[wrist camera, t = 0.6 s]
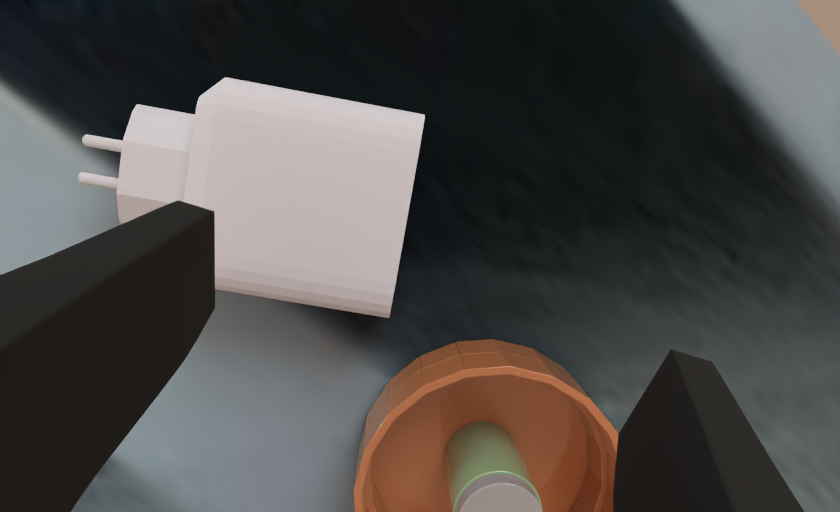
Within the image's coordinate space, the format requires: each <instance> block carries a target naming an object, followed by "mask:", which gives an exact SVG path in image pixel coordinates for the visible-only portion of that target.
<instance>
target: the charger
mask: <svg viewBox="0 0 840 512" xmlns="http://www.w3.org/2000/svg"><path fill="white" fill-rule="evenodd" d="M424 119H425V115H424V114H419V113H413V112H408V111H403V110H397V109H392V108H387V107H381V106H376V105H371V104H365V103H360V102H355V101H349V100H344V99H339V98H333V97H328V96H323V95H317V94H312V93H307V92H301V91H296V90H291V89H285V88H280V87H275V86H269V85H264V84H259V83H253V82H248V81H243V80H237V79H232V78H227V77H225V78H224V79H222V80H221V81H220V82H218V83H217V84H216V85H214V86H213V87H212V88H210V89H209V90H208V91H206V92H205V93H204V94H202V95H201V96H200V97H199V99H198V102H197V106H196V112H195V115H194V114H188V113H183V112H177V111H172V110H166V109H161V108H155V107H150V106H145V105H139V104H137V105H136V107H135V108H134V110H133V111H132V114H131V117H130V120H129V123H128V126H127V129H126V132H125V135H124V138H123V141H121V140H116V139H110V138H104V137H99V136H93V135H88V134H86V135H84V136H83V138H82V142H83V144H84V145H85V146H89V147H94V148H100V149H105V150H111V151H117V152H121V160H120V169H119V177H118V178H114V177H108V176H103V175H97V174H91V173H86V172H81V173H80V174H79V176H78V180H79V182H80V183H82V184H88V185H93V186H99V187H105V188H111V189H116V190H117V204H118V214H119V222H120V224H124V223H126V222H128V221H130V220H132V219H135V218H137V217H139V216H141V215H144V214H146V213H148V212H151V211H153V210H155V209H158V208H160V207H162V206H165V205H167V204H170V203H172V202H175V201H178V200H179V201H182V202H186V203H189V204H192V205H195V206H199V207H202V208H205V209H209V210H212V211H214V217H215V289H217V290H223V291H229V292H235V293H241V294H247V295H253V296H259V297H265V298H271V299H277V300H283V301H289V302H295V303H301V304H307V305H313V306H319V307H325V308H331V309H337V310H343V311H349V312H355V313H361V314H367V315H373V316H379V317H385V318H389V316H390V311H391V306H392V301H393V295H394V290H395V284H396V279H397V273H398V267H399V262H400V256H401V250H402V245H403V239H404V234H405V228H406V222H407V217H408V211H409V206H410V200H411V194H412V189H413V183H414V177H415V172H416V166H417V161H418V155H419V149H420V144H421V138H422V132H423V126H424Z"/></svg>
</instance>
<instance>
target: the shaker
mask: <svg viewBox="0 0 840 512" xmlns="http://www.w3.org/2000/svg"><path fill="white" fill-rule="evenodd" d="M444 467H445V473H446V479H447V485H448V491H449V497H450V503H451V509H452V512H543V510H542V504H541V499H540V497H539V494H538V492H537V489H536V487H535V485H534V483H533V480H532V478H531V476H530V474H529V471H528V469H527V467H526V464H525V462H524V460H523V458H522V455H521V453H520V451H519V448H518V446H517V444H516V442H515V440H514V438H513V437H512V435H511V434H510V433H509V432H508V431H507V430H505V429H504V428H503V427H501V426H499V425H497V424H494V423H489V422H475V423H471V424H468V425H466V426H464V427H462V428H460V429H459V430H458V431H456V432H455V433H454V434H453V435H452V437H451V438H450V439H449V441H448V443H447V445H446V448H445V451H444Z"/></svg>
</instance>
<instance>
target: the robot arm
mask: <svg viewBox="0 0 840 512" xmlns="http://www.w3.org/2000/svg"><path fill="white" fill-rule="evenodd" d="M214 308H215V217H214V211H212V210H209V209H205V208H202V207H199V206H195V205H192V204H189V203H186V202H182V201H179V200H178V201H175V202H172V203H170V204H167V205H165V206H162V207H160V208H158V209H155V210H153V211H151V212H148V213H146V214H144V215H141V216H139V217H137V218H135V219H132V220H130V221H128V222H126V223H124V224H121V225H119V226H117V227H115V228H112V229H110V230H108V231H106V232H103V233H101V234H99V235H97V236H94V237H92V238H90V239H87V240H85V241H83V242H80V243H78V244H76V245H73V246H71V247H69V248H67V249H64V250H62V251H60V252H57V253H55V254H53V255H50V256H48V257H46V258H43V259H41V260H38V261H36V262H33V263H30V264H28V265H25V266H23V267H20V268H18V269H15V270H12V271H10V272H7V273H5V274H2V275H0V512H71V510H72V509H73V507H74V506H75V504H76V503H77V501H78V500H79V498H80V497H81V495H82V494H83V492H84V491H85V490H86V488H87V487H88V485H89V484H90V483H91V481H92V480H93V478H94V477H95V476H96V474H97V473H98V472H99V470H100V469H101V468H102V466H103V465H104V464H105V463H106V461H107V460H108V459H109V457H110V456H111V455H112V453H113V452H114V451H115V450H116V448H117V447H118V446H119V444H120V443H121V442H122V441H123V439H124V438H125V437H126V435H127V434H128V433H129V432H130V430H131V429H132V428H133V426H134V425H135V424H136V423H137V421H138V420H139V419H140V417H141V416H142V415H143V414H144V412H145V411H146V410H147V408H148V407H149V406H150V405H151V403H152V402H153V401H154V399H155V398H156V397H157V396H158V394H159V393H160V392H161V390H162V389H163V388H164V386H165V385H166V384H167V382H168V381H169V380H170V379H171V377H172V376H173V375H174V373H175V372H176V371H177V369H178V368H179V367H180V365H181V364H182V363H183V361H184V360H185V358H186V357H187V355H188V353H189V352H190V350H191V348H192V347H193V345H194V343H195V342H196V340H197V338H198V337H199V335H200V333H201V331H202V330H203V328H204V326H205V324H206V323H207V321H208V319H209V317H210V315H211V314H212V312H213V310H214ZM613 512H804V511H803V509H802V508H801V506H800V504H799V503H798V501H797V500H796V498H795V497H794V495H793V494H792V492H791V490H790V489H789V487H788V486H787V484H786V483H785V481H784V479H783V478H782V476H781V475H780V473H779V471H778V470H777V468H776V467H775V465H774V463H773V462H772V460H771V459H770V457H769V455H768V454H767V452H766V450H765V449H764V447H763V445H762V444H761V442H760V440H759V439H758V437H757V435H756V434H755V432H754V430H753V429H752V427H751V425H750V424H749V422H748V420H747V419H746V417H745V415H744V414H743V412H742V410H741V409H740V407H739V405H738V404H737V402H736V400H735V399H734V397H733V395H732V394H731V392H730V390H729V389H728V387H727V385H726V384H725V382H724V380H723V379H722V377H721V375H720V374H719V372H718V371H717V369H716V367H715V366H714V364H713V363H712V362H711V361H707V360H704V359H701V358H698V357H694V356H691V355H688V354H684V353H681V352H678V351H674V350H670V352H669V353H668V355H667V357H666V358H665V360H664V361H663V363H662V365H661V366H660V368H659V370H658V371H657V373H656V374H655V376H654V378H653V379H652V381H651V382H650V384H649V386H648V387H647V389H646V391H645V392H644V394H643V395H642V397H641V399H640V400H639V402H638V404H637V405H636V407H635V408H634V410H633V412H632V413H631V415H630V416H629V418H628V420H627V421H626V423H625V425H624V426H623V428H622V429H621V431H620V433H619V435H618V445H617V455H616V464H615V476H614V489H613Z"/></svg>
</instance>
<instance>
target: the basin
mask: <svg viewBox="0 0 840 512" xmlns="http://www.w3.org/2000/svg"><path fill="white" fill-rule="evenodd" d="M475 422H489V423H494V424H497V425H499V426H501V427H503V428H504V429H505V430H507V431H508V432H509V433H510V434H511V435H512V437H513V438H514V440H515V442H516V444H517V446H518V448H519V451H520V453H521V455H522V458H523V460H524V462H525V464H526V467H527V469H528V471H529V474H530V476H531V478H532V480H533V483H534V485H535V487H536V489H537V492H538V494H539V497H540V499H541V504H542V510H543V512H613V489H614V476H615V464H616V455H617V445H618V432H617V431H616V429H615V428H614V427H613V426H612V424H611V423H610V422H609V421H608V420H607V418H606V417H605V416H604V415H603V414H602V412H601V411H600V410H599V409H598V407H597V406H596V405H595V404H594V403H593V401H592V400H591V399H590V398H589V397H588V395H587V394H586V393H585V392H584V391H583V389H582V388H581V387H580V386H579V385H578V384H577V382H576V381H575V380H574V379H573V378H572V376H571V375H570V374H569V373H568V372H567V370H566V369H565V368H564V367H562V366H560V365H559V364H557V363H556V362H554V361H552V360H551V359H549V358H548V357H546V356H544V355H543V354H541V353H539V352H538V351H536V350H535V349H532V348H529V347H525V346H521V345H517V344H513V343H509V342H505V341H500V340H495V339H488V340H474V341H460V342H456V343H452V344H449V345H447V346H444V347H442V348H439V349H437V350H434V351H432V352H429V353H427V354H424V355H421V356H420V357H418V358H416V359H415V360H414V361H413V362H412V363H410V364H409V365H408V366H407V367H405V368H404V369H403V370H402V371H400V372H399V373H398V374H397V375H396V376H394V377H393V378H392V379H391V380H390V381H389V382H388V383H387V385H386V386H385V388H384V389H383V391H382V392H381V394H380V395H379V397H378V398H377V400H376V402H375V403H374V405H373V406H372V408H371V409H370V411H369V414H368V415H367V419H366V423H365V427H364V431H363V434H362V438H361V442H360V446H359V452H358V460H357V468H356V476H355V484H354V492H353V494H354V506H355V512H452V509H451V503H450V497H449V491H448V485H447V479H446V473H445V467H444V451H445V448H446V445H447V443H448V441H449V439H450V438H451V437H452V435H453V434H454V433H455V432H456V431H458V430H459V429H460V428H462V427H464V426H466V425H468V424H471V423H475Z"/></svg>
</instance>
